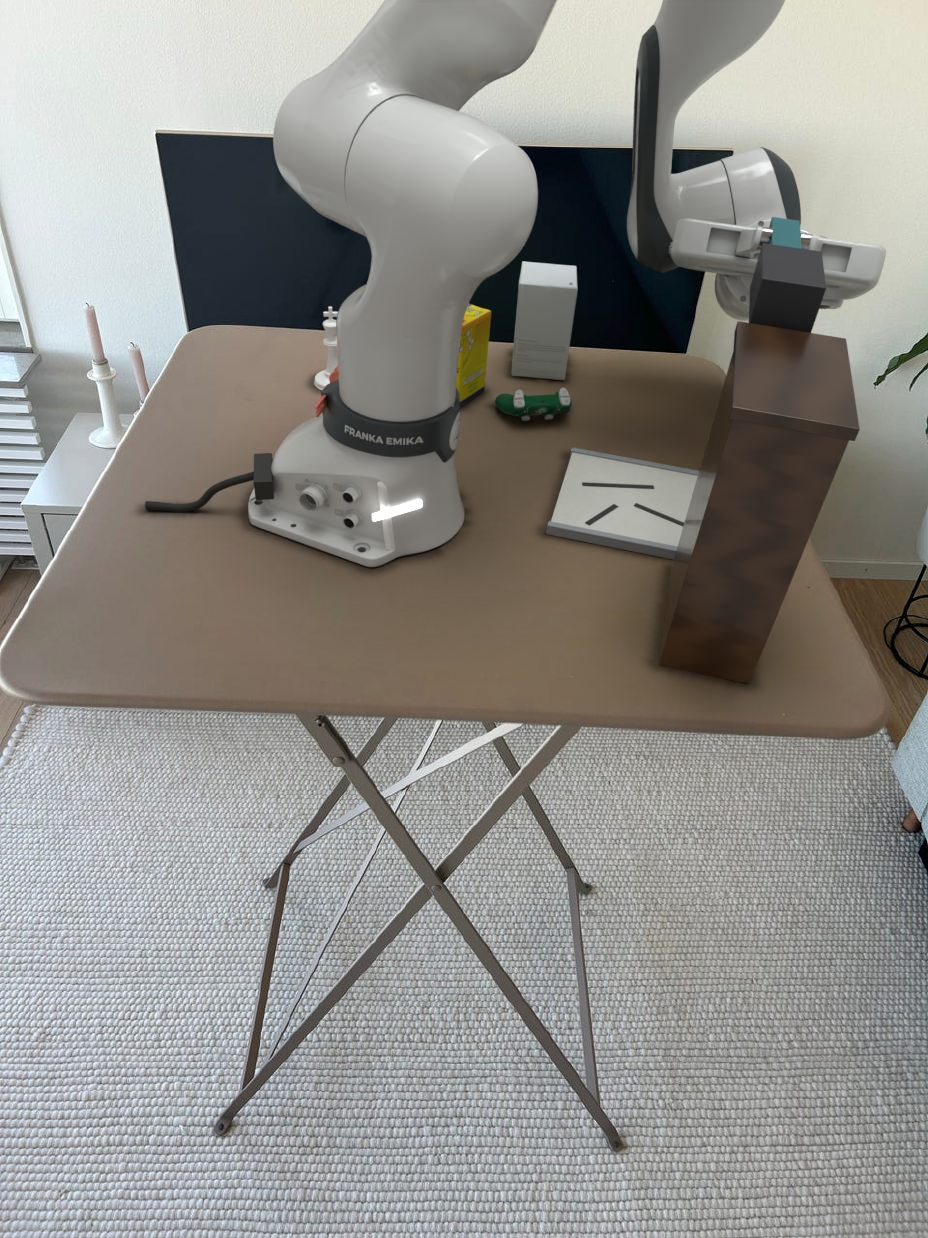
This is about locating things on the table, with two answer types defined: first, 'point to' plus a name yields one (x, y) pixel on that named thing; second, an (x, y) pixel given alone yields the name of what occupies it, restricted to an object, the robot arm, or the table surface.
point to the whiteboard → (623, 503)
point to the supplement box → (473, 353)
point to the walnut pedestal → (757, 496)
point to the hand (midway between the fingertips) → (785, 239)
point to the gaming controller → (534, 404)
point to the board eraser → (787, 281)
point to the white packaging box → (544, 320)
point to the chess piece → (331, 342)
